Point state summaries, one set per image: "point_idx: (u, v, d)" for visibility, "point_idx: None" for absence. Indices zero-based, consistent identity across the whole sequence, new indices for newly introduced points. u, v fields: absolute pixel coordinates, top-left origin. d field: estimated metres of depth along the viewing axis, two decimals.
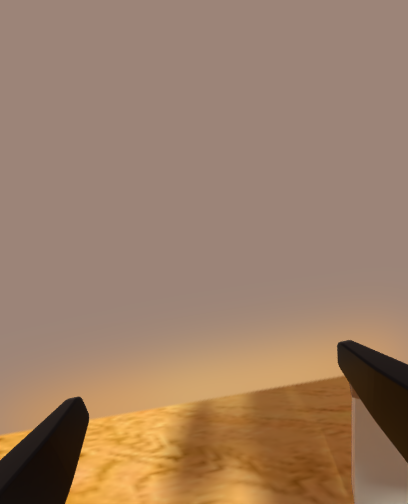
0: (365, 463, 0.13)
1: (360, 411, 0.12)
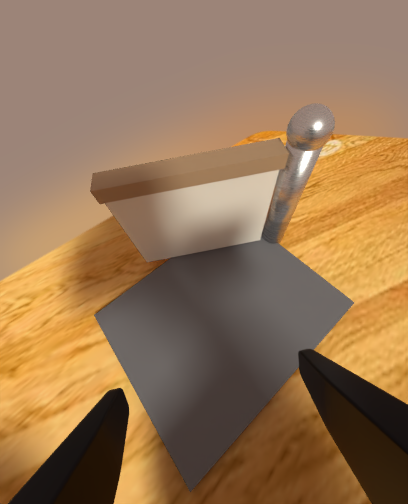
0: (137, 239, 0.19)
1: (114, 211, 0.16)
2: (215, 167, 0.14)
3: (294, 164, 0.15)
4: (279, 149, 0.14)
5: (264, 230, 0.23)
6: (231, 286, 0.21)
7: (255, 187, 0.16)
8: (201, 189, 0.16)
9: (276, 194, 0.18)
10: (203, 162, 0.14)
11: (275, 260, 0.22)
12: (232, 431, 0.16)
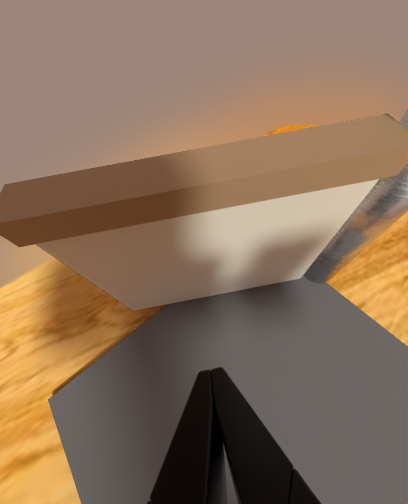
0: (112, 288, 0.12)
1: (58, 254, 0.08)
2: (262, 173, 0.06)
3: None
4: (397, 135, 0.07)
5: None
6: (261, 354, 0.14)
7: (323, 209, 0.09)
8: (225, 215, 0.08)
9: (349, 219, 0.10)
10: (234, 162, 0.07)
11: (326, 311, 0.15)
12: None
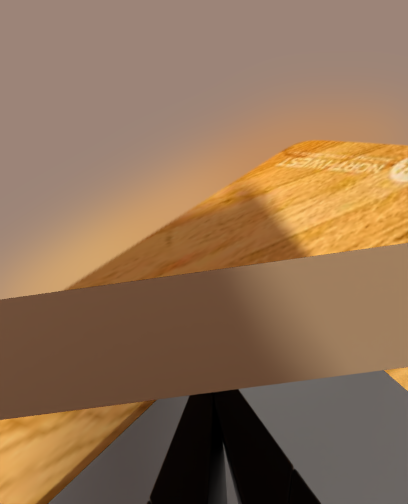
0: None
1: None
2: (378, 366, 0.03)
3: None
4: None
5: None
6: None
7: None
8: None
9: None
10: (310, 321, 0.03)
11: (377, 407, 0.11)
12: None
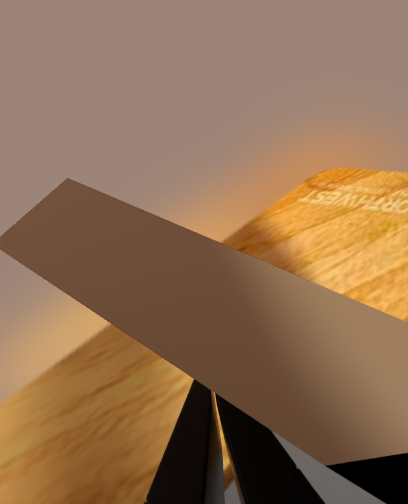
0: None
1: None
2: None
3: None
4: None
5: None
6: None
7: None
8: None
9: None
10: None
11: None
12: None
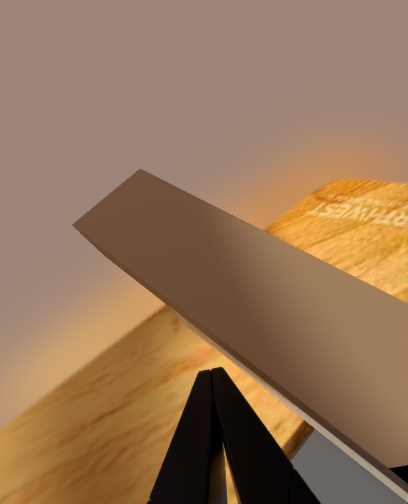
0: (178, 314, 0.09)
1: None
2: None
3: None
4: None
5: None
6: None
7: None
8: None
9: None
10: None
11: None
12: None
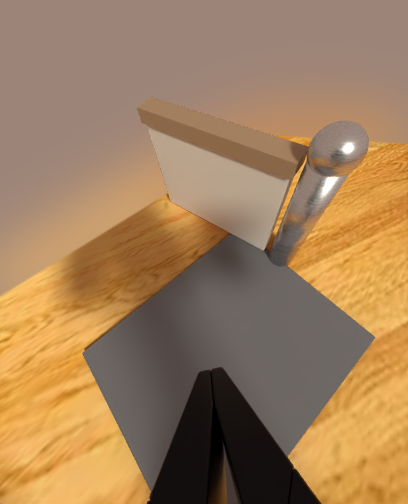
0: (165, 174, 0.22)
1: (152, 136, 0.19)
2: (225, 138, 0.14)
3: (315, 190, 0.12)
4: (293, 156, 0.12)
5: (272, 252, 0.20)
6: (236, 317, 0.19)
7: (263, 185, 0.15)
8: (214, 156, 0.16)
9: (289, 219, 0.16)
10: (222, 130, 0.14)
11: (285, 286, 0.20)
12: None
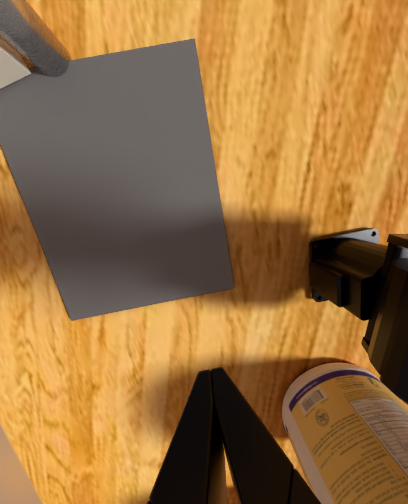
0: None
1: None
2: None
3: None
4: None
5: (35, 63, 0.14)
6: (104, 169, 0.17)
7: None
8: None
9: None
10: None
11: (95, 88, 0.15)
12: (222, 244, 0.19)
